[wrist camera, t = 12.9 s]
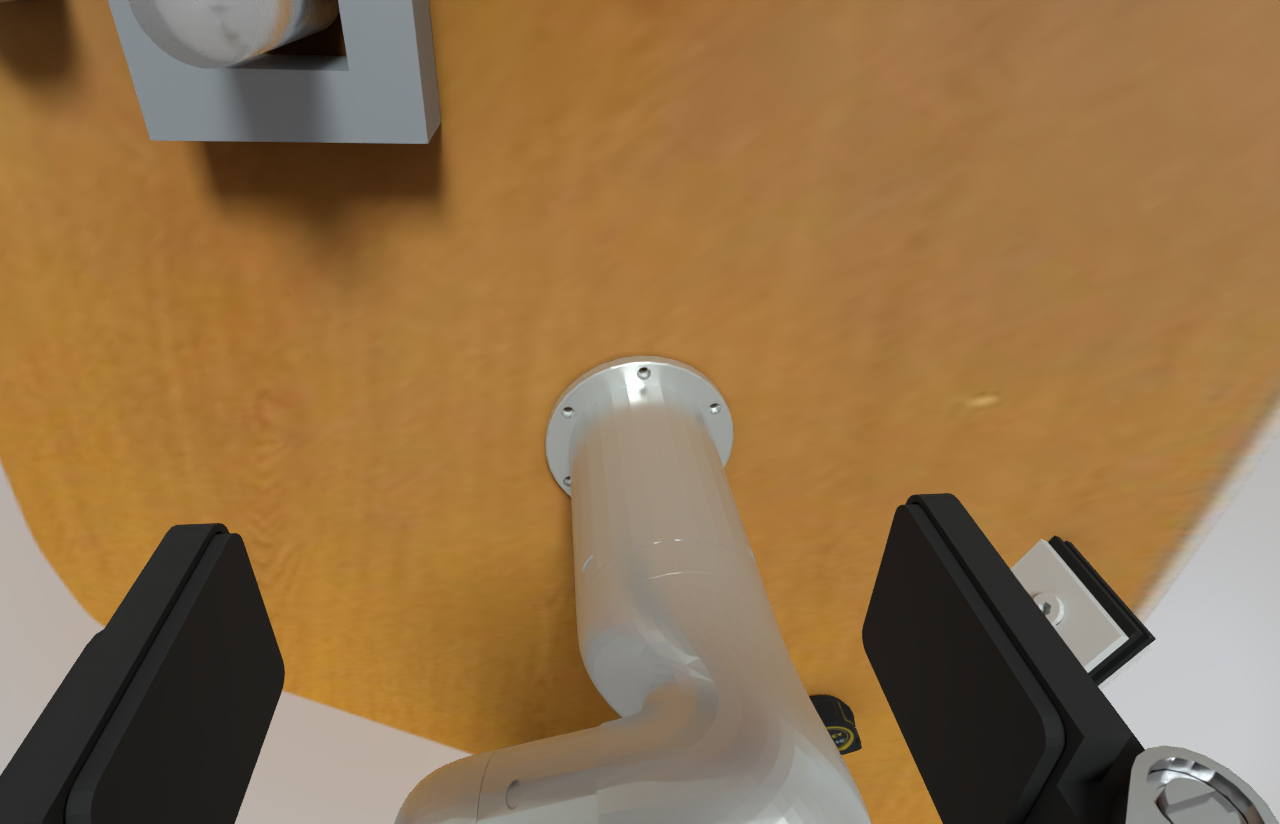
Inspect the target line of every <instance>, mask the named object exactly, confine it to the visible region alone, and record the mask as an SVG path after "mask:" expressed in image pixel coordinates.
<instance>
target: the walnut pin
mask: <svg viewBox="0 0 1280 824" xmlns="http://www.w3.org/2000/svg"><path fill="white" fill-rule="evenodd" d="M14 1H24V0H0V3H4V2H14Z"/></svg>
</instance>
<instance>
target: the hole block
mask: <svg viewBox="0 0 1280 824" xmlns="http://www.w3.org/2000/svg"><path fill="white" fill-rule="evenodd" d="M108 2H109V5H110V8H111V12H112V15H113V18H114V22H115V25H116V28H117V31H118V35H119V38H120V41H121V45H122V48H123V51H124V54H125V58H126V61H127V64H128V67H129V71H130V74H131V77H132V81H133V84H134V87H135V90H136V94H137V97H138V100H139V104H140V107H141V110H142V113H143V117H144V120H145V123H146V127H147V130H148V133H149V136H150V140H161V141H241V142H322V143H402V144H428V143H429V141H430V140H431V138H432V137H433V135H434V133H435V132H436V130H437V128H438V127H439V125H440V123H441V115H440V106H439V96H438V86H437V76H436V67H435V57H434V47H433V37H432V28H431V18H430V8H429V0H338V4H339V10H340V16H341V23H342V29H343V35H344V41H345V48H346V54H347V56H319V55H278V54H259V55H256V56H253V57H251V58H248V59H245V60H243V61H240V62H237V63H235V64H232V65H229V66H226V67H222V68H217V69H206V68H199V67H194V66H191V65H188V64H185V63H183V62H181V61H179V60H176V59H175V58H173V57H171V56H170V55H168V54H167V53H166V52H164V51H163V50H162V49H160V48H159V47H158V46H157V45H156V44H155V43H154V42H153V41H152V40H151V39H150V38H149V37H148V36H147V35H146V33H145V32H144V31H143V29H142V28H141V26H140V25H139V23H138V22H137V20H136V18H135V16H134V14H133V12H132V10H131V7H130V4H129V1H128V0H108Z"/></svg>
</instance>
